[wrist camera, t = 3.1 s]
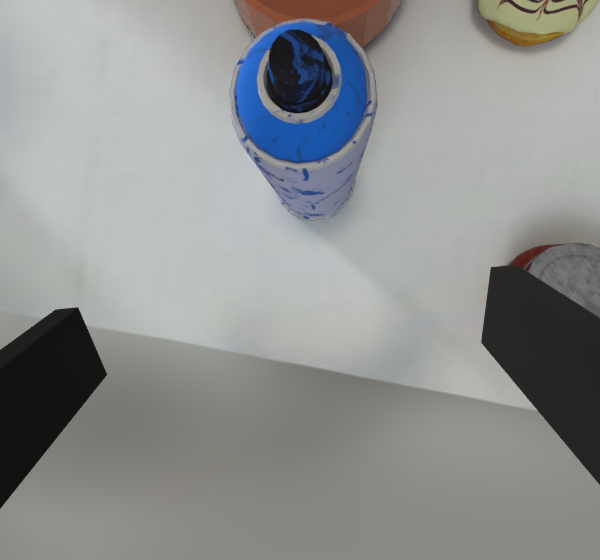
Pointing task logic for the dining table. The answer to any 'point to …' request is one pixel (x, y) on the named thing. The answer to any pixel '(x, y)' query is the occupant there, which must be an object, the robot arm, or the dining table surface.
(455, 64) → the dining table surface
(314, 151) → the aerosol can
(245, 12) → the bowl
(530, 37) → the decorated donut
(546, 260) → the canned food
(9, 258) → the dining table surface
